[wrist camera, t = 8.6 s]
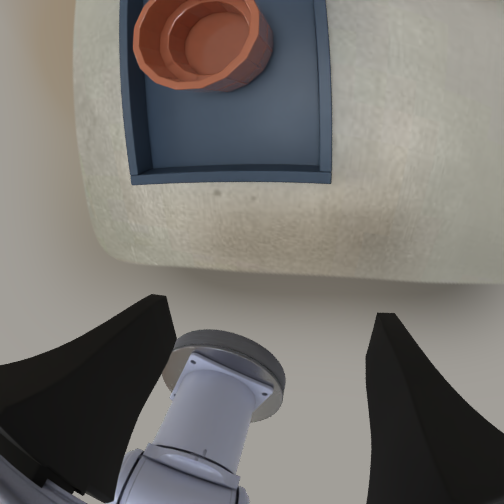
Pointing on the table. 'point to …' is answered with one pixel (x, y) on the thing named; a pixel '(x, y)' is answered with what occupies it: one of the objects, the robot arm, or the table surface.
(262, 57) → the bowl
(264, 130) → the tray
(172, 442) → the robot arm
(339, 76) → the table surface
